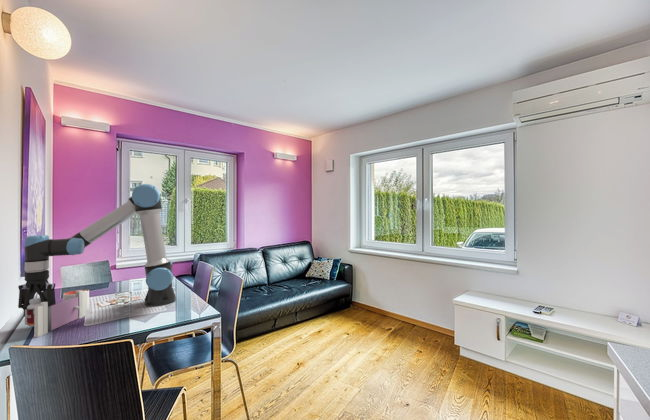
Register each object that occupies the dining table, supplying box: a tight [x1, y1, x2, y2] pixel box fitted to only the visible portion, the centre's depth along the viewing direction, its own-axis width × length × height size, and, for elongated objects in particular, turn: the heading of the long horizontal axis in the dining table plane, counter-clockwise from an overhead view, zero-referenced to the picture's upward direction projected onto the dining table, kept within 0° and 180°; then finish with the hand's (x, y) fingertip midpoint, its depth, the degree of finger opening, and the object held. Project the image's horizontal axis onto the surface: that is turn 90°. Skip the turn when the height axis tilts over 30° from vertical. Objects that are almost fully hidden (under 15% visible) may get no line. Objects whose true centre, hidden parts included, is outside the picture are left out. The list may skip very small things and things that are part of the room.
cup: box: [62, 289, 90, 311], centre depth 144 cm, size 10×10×10 cm
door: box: [48, 297, 79, 333], centre depth 126 cm, size 3×15×10 cm, turn 2°
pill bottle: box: [26, 297, 41, 327], centre depth 124 cm, size 6×6×11 cm
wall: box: [33, 289, 88, 338], centre depth 126 cm, size 2×25×13 cm, turn 2°
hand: (37, 323), depth 124 cm, fingers closed on pill bottle, 6 cm apart
